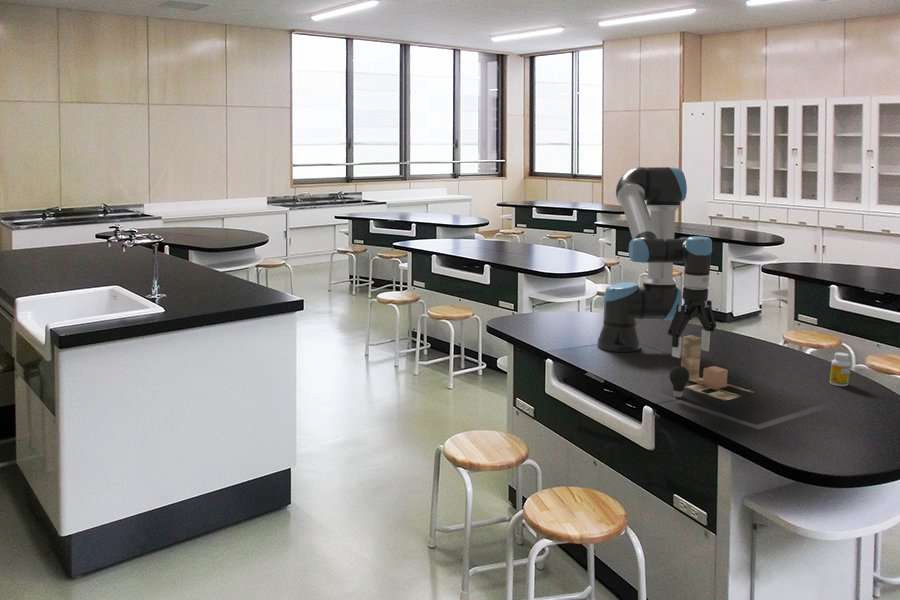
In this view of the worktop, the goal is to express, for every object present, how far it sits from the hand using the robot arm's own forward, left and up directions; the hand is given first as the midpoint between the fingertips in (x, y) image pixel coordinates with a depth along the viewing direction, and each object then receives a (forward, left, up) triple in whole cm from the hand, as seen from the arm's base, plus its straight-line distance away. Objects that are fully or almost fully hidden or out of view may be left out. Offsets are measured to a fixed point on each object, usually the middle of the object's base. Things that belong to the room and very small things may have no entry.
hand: (690, 353), depth 257 cm
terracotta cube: (+10, 0, -8) cm, 13 cm away
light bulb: (+11, -18, -9) cm, 23 cm away
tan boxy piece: (+5, 0, -9) cm, 10 cm away
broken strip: (+14, -7, -9) cm, 18 cm away
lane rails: (+14, -4, -9) cm, 17 cm away
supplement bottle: (+29, +36, -9) cm, 47 cm away
